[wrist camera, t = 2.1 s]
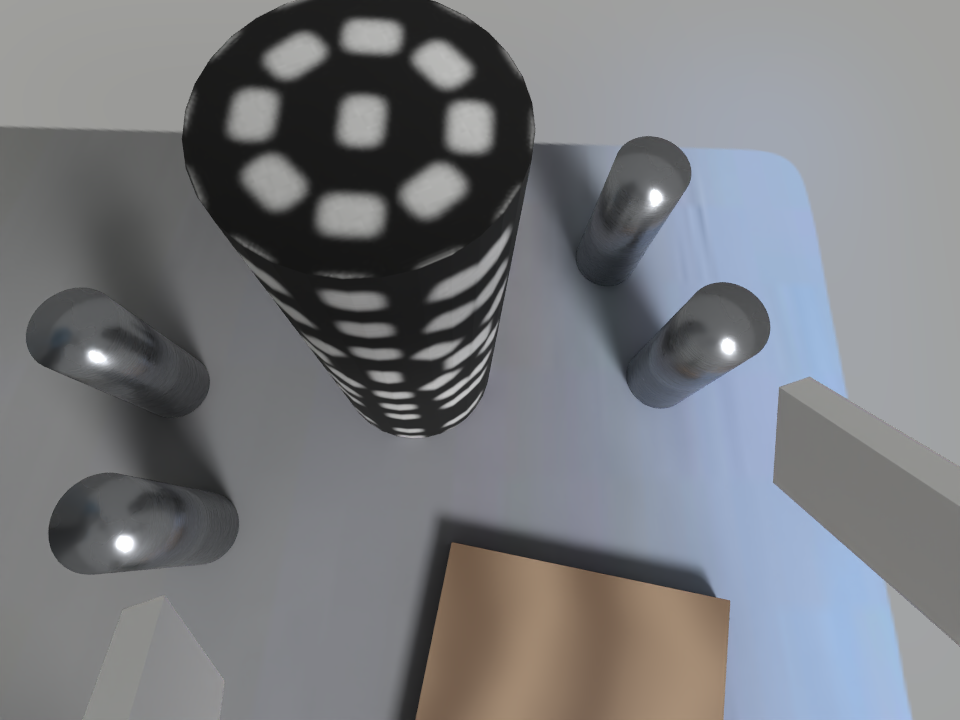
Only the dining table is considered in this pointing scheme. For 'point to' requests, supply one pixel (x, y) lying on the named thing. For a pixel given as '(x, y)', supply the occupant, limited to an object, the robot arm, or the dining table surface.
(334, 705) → the dining table surface
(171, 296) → the dining table surface
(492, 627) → the square wooden board
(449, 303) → the spotted tube
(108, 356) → the spacer posts
